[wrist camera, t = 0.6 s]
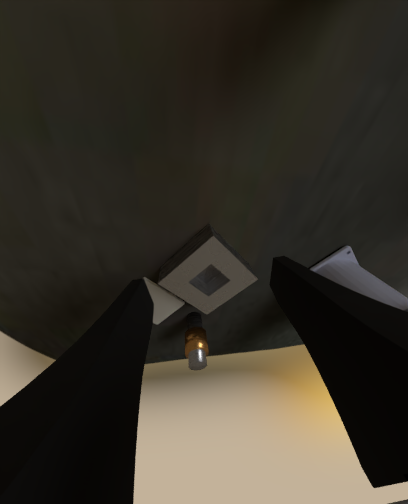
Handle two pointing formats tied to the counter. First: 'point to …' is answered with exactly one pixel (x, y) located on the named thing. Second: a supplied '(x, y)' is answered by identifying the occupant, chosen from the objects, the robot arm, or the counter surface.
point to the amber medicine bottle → (196, 342)
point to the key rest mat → (162, 301)
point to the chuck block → (206, 271)
